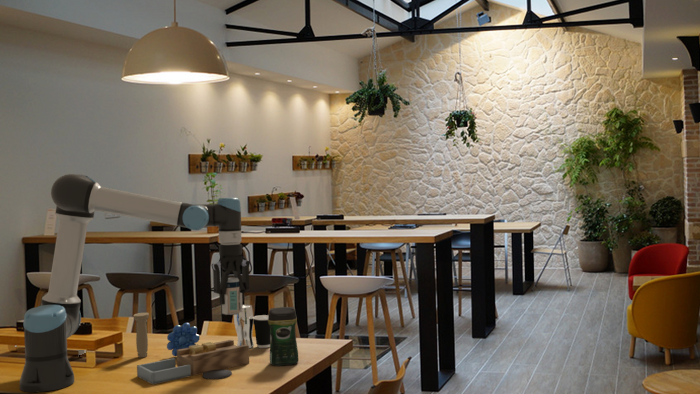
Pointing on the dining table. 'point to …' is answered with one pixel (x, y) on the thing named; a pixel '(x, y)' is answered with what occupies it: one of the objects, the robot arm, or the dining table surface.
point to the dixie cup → (262, 331)
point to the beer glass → (244, 326)
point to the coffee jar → (283, 336)
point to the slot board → (214, 357)
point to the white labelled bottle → (233, 296)
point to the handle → (141, 334)
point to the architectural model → (81, 352)
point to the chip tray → (162, 371)
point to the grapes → (182, 337)
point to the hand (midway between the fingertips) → (232, 312)
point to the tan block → (208, 347)
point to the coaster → (217, 374)
